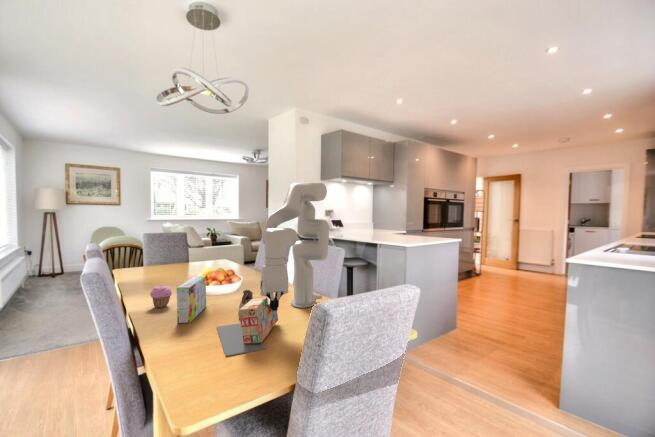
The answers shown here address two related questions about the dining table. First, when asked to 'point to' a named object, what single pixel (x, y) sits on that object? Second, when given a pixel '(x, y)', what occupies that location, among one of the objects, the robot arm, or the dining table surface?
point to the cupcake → (161, 296)
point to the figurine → (245, 299)
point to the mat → (235, 340)
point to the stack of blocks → (257, 320)
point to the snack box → (191, 299)
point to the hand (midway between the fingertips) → (274, 309)
